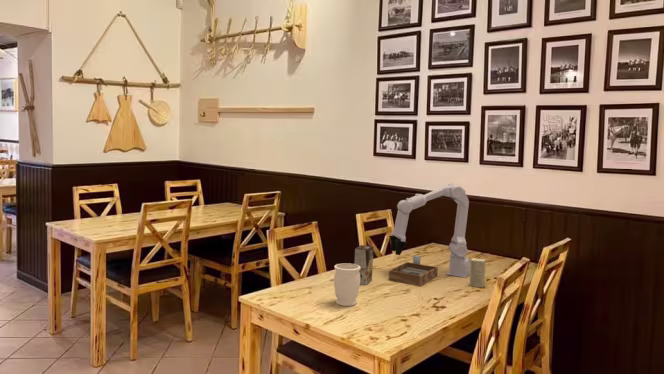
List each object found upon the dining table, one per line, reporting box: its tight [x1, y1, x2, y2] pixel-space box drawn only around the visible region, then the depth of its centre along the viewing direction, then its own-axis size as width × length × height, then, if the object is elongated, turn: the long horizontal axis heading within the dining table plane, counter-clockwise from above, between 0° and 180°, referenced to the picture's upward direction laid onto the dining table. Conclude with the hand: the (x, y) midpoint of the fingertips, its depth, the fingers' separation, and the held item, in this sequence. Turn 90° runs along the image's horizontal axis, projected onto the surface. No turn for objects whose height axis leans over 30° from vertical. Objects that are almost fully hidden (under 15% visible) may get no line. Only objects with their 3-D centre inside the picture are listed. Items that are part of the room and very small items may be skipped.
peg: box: [412, 255, 421, 264], centre depth 266 cm, size 4×4×7 cm
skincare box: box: [469, 257, 486, 288], centre depth 242 cm, size 6×4×12 cm
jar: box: [333, 262, 361, 307], centre depth 212 cm, size 11×10×15 cm
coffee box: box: [353, 244, 374, 286], centre depth 242 cm, size 9×6×16 cm
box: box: [388, 261, 439, 287], centre depth 251 cm, size 20×16×4 cm
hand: (395, 252), depth 256 cm, fingers open, 7 cm apart
